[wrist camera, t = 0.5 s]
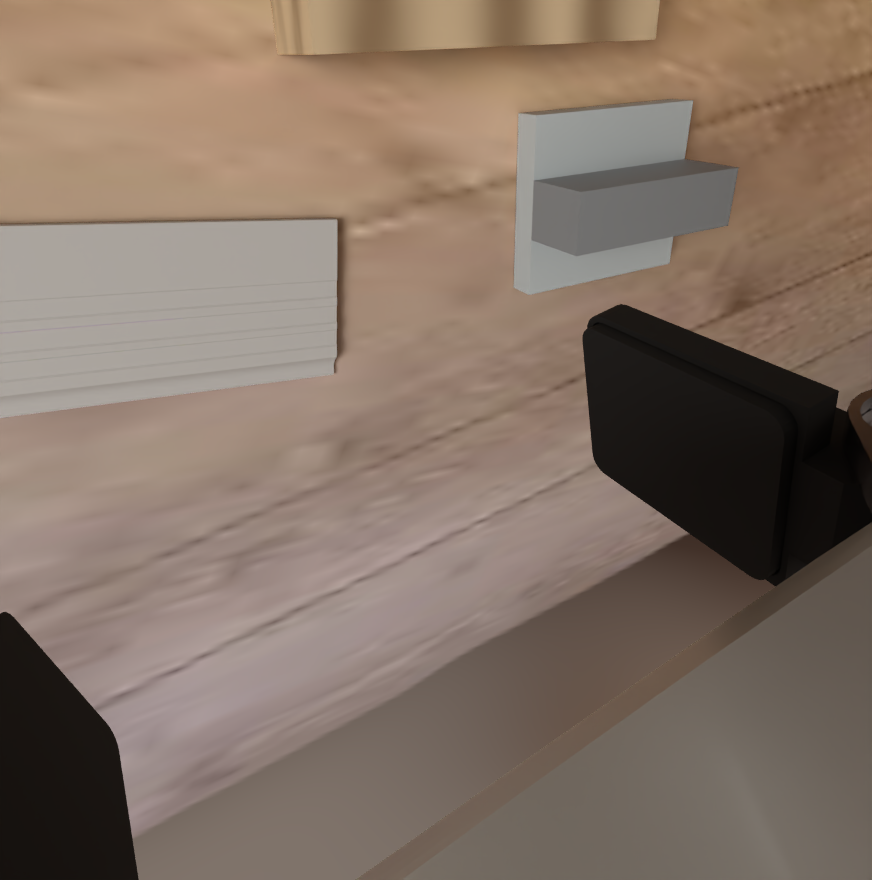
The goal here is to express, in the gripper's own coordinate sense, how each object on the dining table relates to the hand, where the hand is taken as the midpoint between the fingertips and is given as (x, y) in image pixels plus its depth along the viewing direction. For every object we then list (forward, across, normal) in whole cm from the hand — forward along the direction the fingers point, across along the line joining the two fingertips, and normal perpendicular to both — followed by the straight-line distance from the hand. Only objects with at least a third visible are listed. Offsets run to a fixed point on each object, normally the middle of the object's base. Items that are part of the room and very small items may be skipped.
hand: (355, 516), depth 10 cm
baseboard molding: (+34, +5, +6) cm, 35 cm away
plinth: (+33, -32, +10) cm, 47 cm away
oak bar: (+34, -22, -4) cm, 40 cm away
